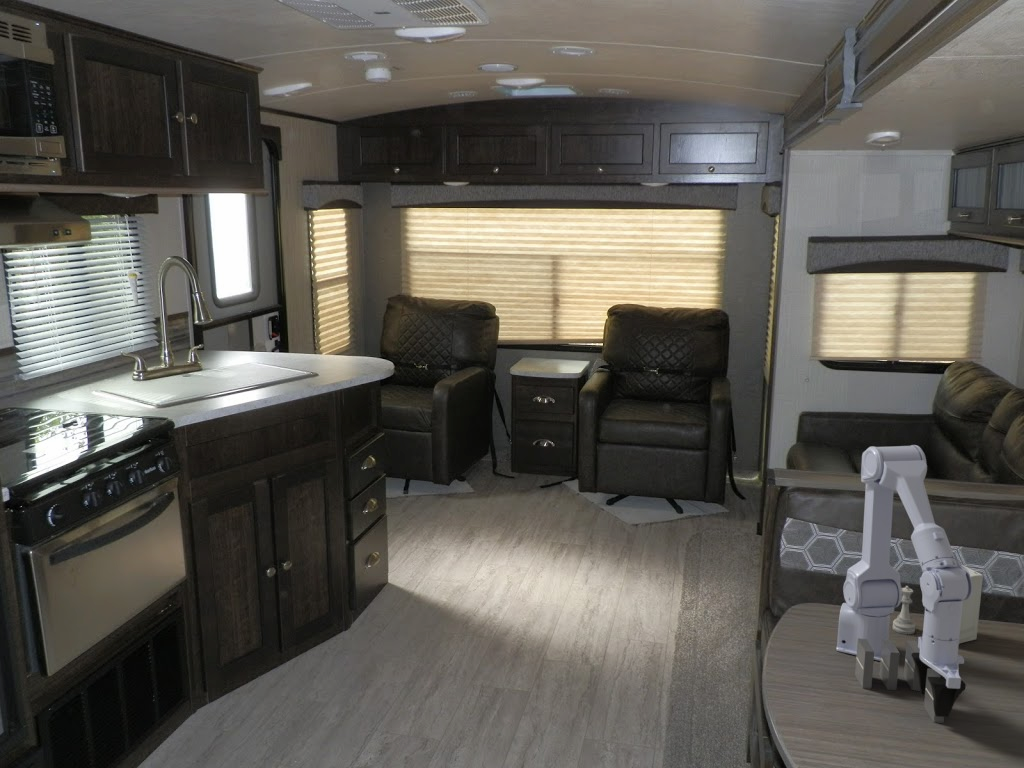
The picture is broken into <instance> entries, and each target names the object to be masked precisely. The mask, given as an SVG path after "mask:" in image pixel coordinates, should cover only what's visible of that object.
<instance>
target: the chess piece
mask: <svg viewBox="0 0 1024 768" xmlns="http://www.w3.org/2000/svg"><path fill="white" fill-rule="evenodd" d="M901 588H902V600H901V603H902V605H901V609H900V610H901V611H900V613H899V614H898V615H897V618H895V619H894V620H893V621H892V630H893V631H894V632H896V633H898V634H901V635H907V634H908V635H913V634H914V633H915V632H916V624H915V622H914V621H913V617H912V616H911V615H910V614H911V613H910V605H911V604H912V603H913V599H911V595H912V594H913V593H914V590H913V589H912V588H910V587H909V585H905V587H901Z"/></svg>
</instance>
